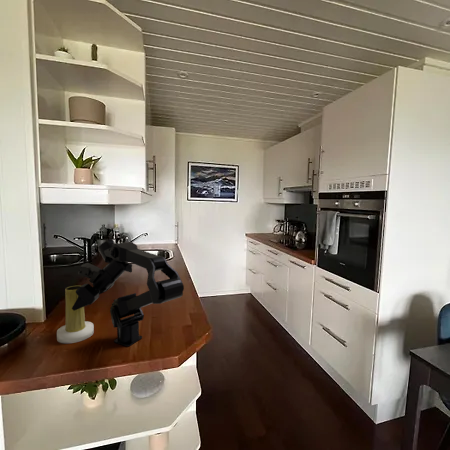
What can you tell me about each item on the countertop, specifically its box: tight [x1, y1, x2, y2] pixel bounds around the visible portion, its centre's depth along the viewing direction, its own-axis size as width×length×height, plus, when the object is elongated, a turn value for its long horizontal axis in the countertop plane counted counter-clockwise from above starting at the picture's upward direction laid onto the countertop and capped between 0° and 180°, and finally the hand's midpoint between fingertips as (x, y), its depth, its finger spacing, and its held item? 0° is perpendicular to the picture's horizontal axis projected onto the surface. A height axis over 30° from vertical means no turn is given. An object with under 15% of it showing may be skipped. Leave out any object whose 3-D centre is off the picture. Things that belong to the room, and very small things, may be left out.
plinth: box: [56, 320, 95, 344], centre depth 91 cm, size 11×11×2 cm
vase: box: [64, 285, 86, 332], centre depth 90 cm, size 6×6×14 cm
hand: (79, 304), depth 90 cm, fingers open, 9 cm apart
